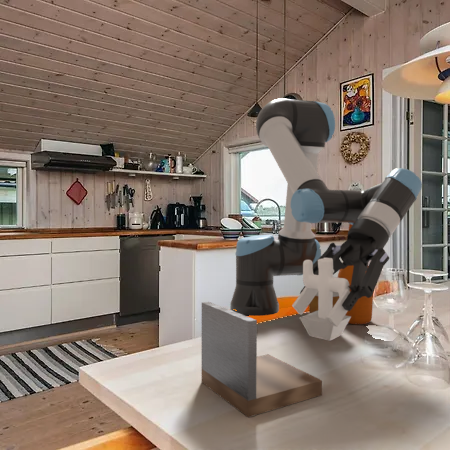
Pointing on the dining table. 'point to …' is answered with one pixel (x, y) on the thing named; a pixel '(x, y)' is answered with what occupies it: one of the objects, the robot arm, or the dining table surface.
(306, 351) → the dining table surface
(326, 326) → the figurine
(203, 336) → the grey metal bookend
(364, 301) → the wine bottle
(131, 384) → the dining table surface
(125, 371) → the dining table surface
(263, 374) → the walnut shelf board
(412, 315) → the dining table surface
